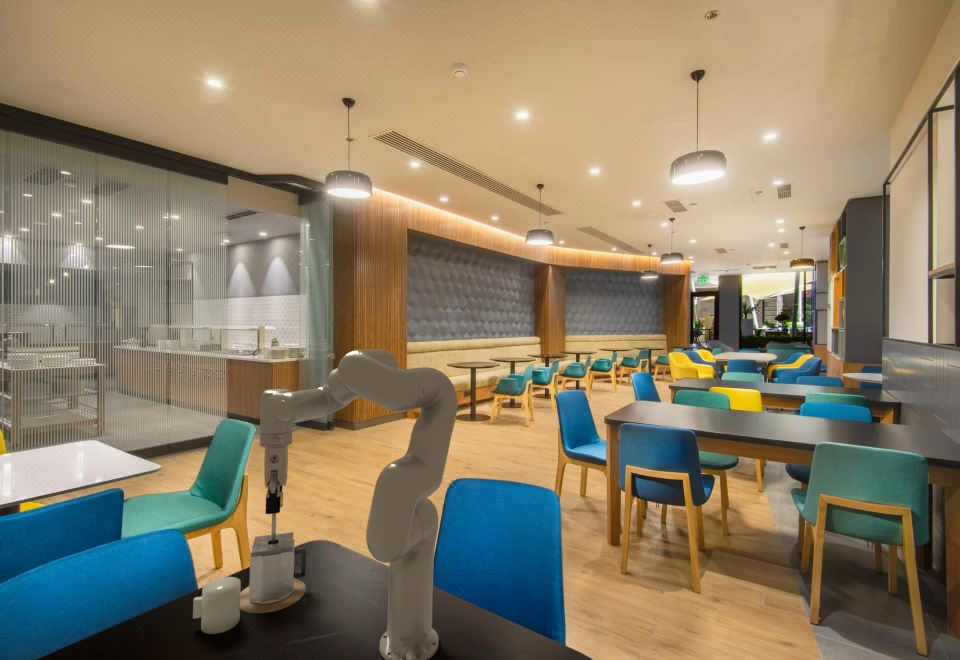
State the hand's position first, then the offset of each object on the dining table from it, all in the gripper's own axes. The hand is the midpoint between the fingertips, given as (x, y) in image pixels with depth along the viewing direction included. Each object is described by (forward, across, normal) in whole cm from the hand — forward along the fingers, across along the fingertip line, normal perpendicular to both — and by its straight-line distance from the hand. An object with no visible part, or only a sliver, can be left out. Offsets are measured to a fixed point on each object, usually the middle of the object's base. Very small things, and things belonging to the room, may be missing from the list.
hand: (274, 506), depth 116 cm
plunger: (+15, 0, 0) cm, 15 cm away
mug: (+23, -9, +10) cm, 26 cm away
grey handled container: (+22, 0, -1) cm, 22 cm away
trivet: (+23, 0, 0) cm, 23 cm away
